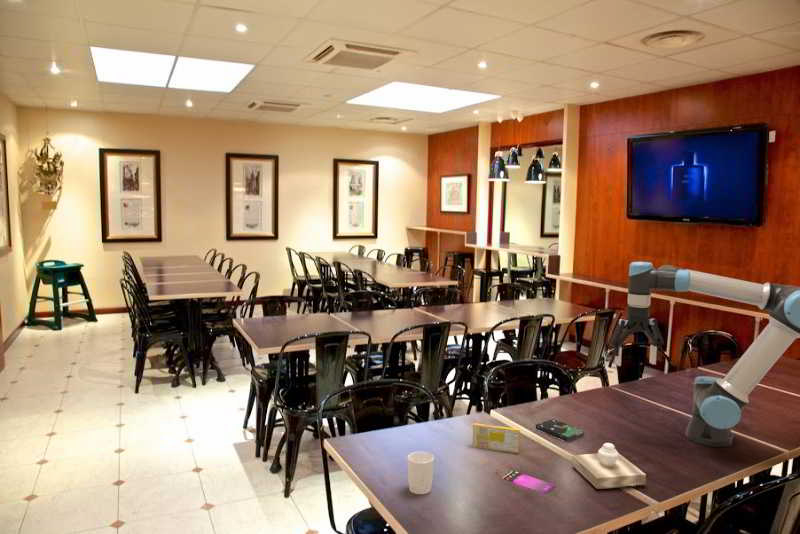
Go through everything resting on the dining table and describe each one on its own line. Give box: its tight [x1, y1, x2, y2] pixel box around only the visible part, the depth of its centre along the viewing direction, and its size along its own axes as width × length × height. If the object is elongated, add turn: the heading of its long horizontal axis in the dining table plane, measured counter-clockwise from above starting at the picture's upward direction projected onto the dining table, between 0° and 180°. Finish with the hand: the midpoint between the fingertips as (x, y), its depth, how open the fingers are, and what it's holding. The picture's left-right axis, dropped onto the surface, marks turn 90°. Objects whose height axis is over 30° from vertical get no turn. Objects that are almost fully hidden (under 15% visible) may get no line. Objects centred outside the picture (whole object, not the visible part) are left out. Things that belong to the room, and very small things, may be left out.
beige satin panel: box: [571, 452, 647, 490], centre depth 181 cm, size 16×16×4 cm
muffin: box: [597, 442, 620, 467], centre depth 180 cm, size 6×6×7 cm
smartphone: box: [501, 470, 556, 495], centre depth 177 cm, size 7×15×1 cm, turn 49°
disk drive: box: [535, 418, 585, 443], centre depth 215 cm, size 10×3×15 cm
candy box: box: [471, 422, 521, 454], centre depth 200 cm, size 16×2×8 cm, turn 71°
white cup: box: [406, 451, 435, 495], centre depth 171 cm, size 8×8×10 cm
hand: (635, 364), depth 205 cm, fingers open, 13 cm apart
